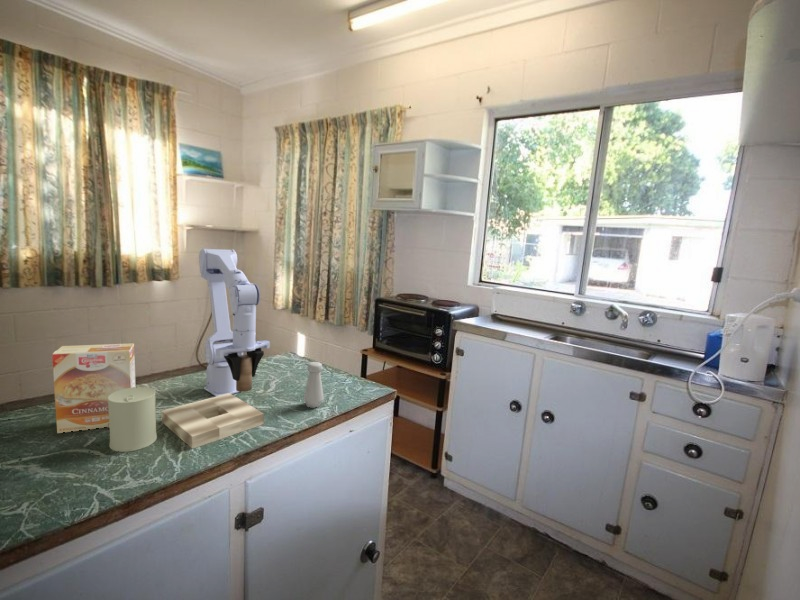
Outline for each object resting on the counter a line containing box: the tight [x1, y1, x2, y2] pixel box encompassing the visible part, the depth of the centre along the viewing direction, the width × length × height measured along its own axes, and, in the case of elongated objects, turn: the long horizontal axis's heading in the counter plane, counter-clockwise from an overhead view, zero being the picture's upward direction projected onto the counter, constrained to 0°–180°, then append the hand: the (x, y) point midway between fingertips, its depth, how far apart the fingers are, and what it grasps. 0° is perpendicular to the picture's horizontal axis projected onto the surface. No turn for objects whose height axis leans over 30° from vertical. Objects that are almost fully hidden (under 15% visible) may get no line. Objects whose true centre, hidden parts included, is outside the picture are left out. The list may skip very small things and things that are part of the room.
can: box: [107, 386, 158, 453], centre depth 92 cm, size 9×9×12 cm
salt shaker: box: [303, 361, 324, 409], centre depth 118 cm, size 6×6×13 cm
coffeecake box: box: [52, 342, 136, 434], centre depth 99 cm, size 15×7×20 cm, turn 115°
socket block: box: [160, 393, 265, 450], centre depth 104 cm, size 18×18×3 cm
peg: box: [236, 354, 253, 393], centre depth 109 cm, size 4×4×9 cm
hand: (243, 377), depth 110 cm, fingers closed on peg, 4 cm apart
